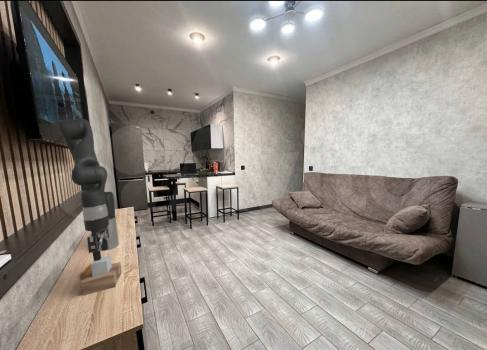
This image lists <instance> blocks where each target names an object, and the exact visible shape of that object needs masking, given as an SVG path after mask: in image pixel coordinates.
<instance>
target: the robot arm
mask: <svg viewBox="0 0 487 350" xmlns="http://www.w3.org/2000/svg"><path fill="white" fill-rule="evenodd" d="M57 126H58V130H59V132H60V134H61V137H62V138H63V140H64V142H65V144H66V146H67V148H68V150H69V152H70V154H71V155H70V156H71V157H72V160H73V162H74V167H73V169H72V172H71V180H72V181H71V182H73V184H75V185H76V186H83V187H84V189H85V191H84V192H82V193H81V194H80V197H81V203H82V217H83V222H84V224H83V225H84V230H85V231H86V232H90V233H91V234H90V236H88V237H87V238H86V240H87V250H88V254H91V253H92V259H93V261H99V260H100V259H101V257H102V253H101V251H102V252H103V251H108V250H112V249H113V248H116V247H118V246H119V243H120V242H119V236H118V235H119V234H118V233H119V232H118V228H117V227H118V226H117V220H116V219H117V218H116V206H115V205H116V204H115V196H114V193H113V192H112V191H105V189H106V184H107V180H108V171H107V169H106V168H105V167H104V166H102V165H100V163H99V160H98V158H97V154H96V152H95V141H94V133H93V129H92V126H91V123H90V122H89V121H88V120H87V119H85V118H75V119H74V118H71V119H70V118H69V119H61V120H60V119H59V120H58V121H57ZM78 140H80V141H79V142H78V143H77V142H76V141H78Z"/></svg>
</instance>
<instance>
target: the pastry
mask: <svg viewBox="0 0 487 350" xmlns="http://www.w3.org/2000/svg"><path fill="white" fill-rule="evenodd" d="M92 263H93V262H92ZM92 263H90V264H89V265H88V266H87V267H86V268H85V269H84V271H83V278H84V279H85V278H86V276H87V275H88V274H89V272H90V271H91V270H92V268H91V264H92ZM84 279H83V280H84Z"/></svg>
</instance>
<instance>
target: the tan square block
mask: <svg viewBox="0 0 487 350" xmlns="http://www.w3.org/2000/svg"><path fill="white" fill-rule="evenodd" d="M121 275H122V264H121V261H120V262H119V261H118V262H115V263H112V267H111V269H110V271H109V272H108V273H106V274H102V275H98V276H94V277H93V276H92V270H91V271H90V272H89V274H88V275H87V276H86V278H85V279H83V280H82V281H81V288H82V295H83V296H88V295H91V294H94V293H98V292H101V291H106V290H109V289H113V288H115V287H116V286H117V284H118V282H119V280H120V277H121Z"/></svg>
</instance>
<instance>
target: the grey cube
mask: <svg viewBox="0 0 487 350" xmlns="http://www.w3.org/2000/svg"><path fill="white" fill-rule="evenodd" d="M90 264H91V263H90ZM112 264H113V262H112V258H111V255H110V254H109V255H106V256H101V259H100V260H99V261H94V260H93V261H92V264H91V268H92V276H93V277H94V276H98V275H102V274H106V273H108V272H109V271H110V269H111V267H112Z"/></svg>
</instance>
